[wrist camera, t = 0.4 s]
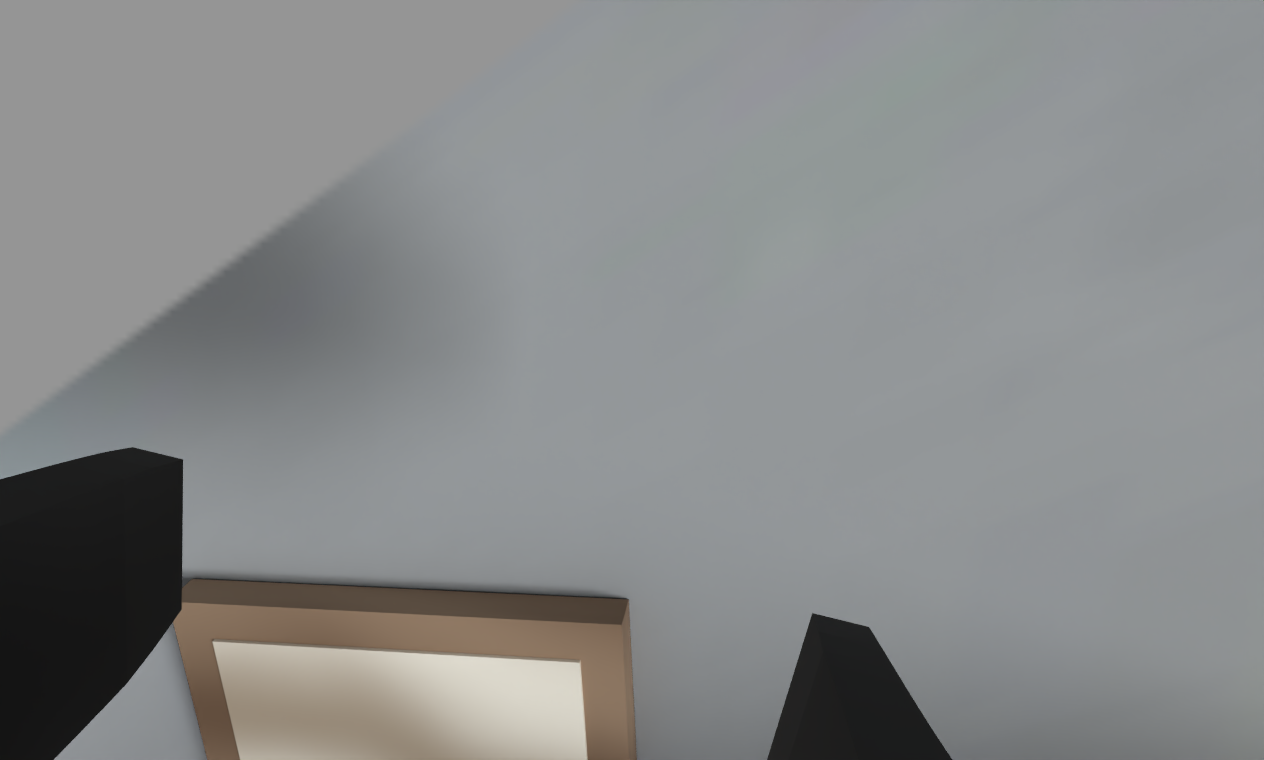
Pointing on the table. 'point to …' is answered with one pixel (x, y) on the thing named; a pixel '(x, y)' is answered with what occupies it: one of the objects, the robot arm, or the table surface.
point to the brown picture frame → (405, 673)
